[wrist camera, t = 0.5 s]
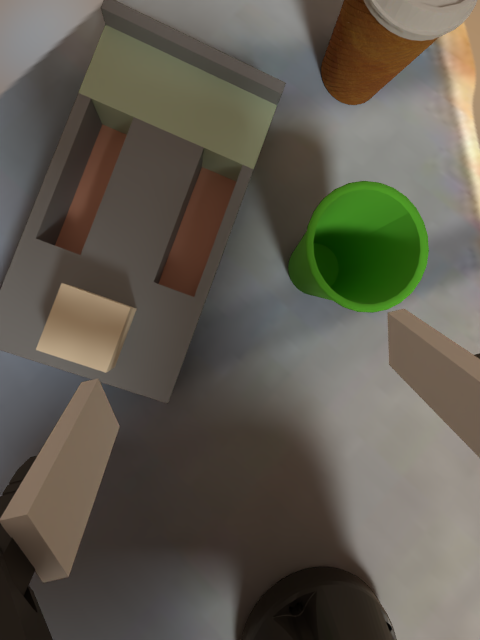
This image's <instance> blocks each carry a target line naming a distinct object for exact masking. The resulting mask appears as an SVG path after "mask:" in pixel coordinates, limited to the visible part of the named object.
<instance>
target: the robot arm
mask: <svg viewBox="0 0 480 640" xmlns="http://www.w3.org/2000/svg"><path fill="white" fill-rule="evenodd" d="M388 342H389V365H390V366H391V367H392V368H393V369H394V370H395V371H396V372H397V373H398V374H399V375H400V377H401V378H402V379H403V380H404V381H405V382H406V383H407V384H408V385H409V386H410V387H411V388H412V389H413V390H414V391H415V392H416V393H417V394H418V395H419V396H420V397H421V398H422V399H423V400H424V401H425V402H426V403H427V404H428V405H429V406H430V407H431V408H432V409H433V410H434V411H435V412H436V413H437V414H438V416H439V417H440V418H441V419H442V420H443V421H444V422H445V423H446V424H447V425H448V426H449V427H450V428H451V429H452V430H453V431H454V432H455V433H456V434H457V435H458V436H459V437H460V438H461V439H462V440H463V441H464V442H465V443H466V444H467V445H468V446H469V447H470V448H471V449H472V450H473V451H474V452H475V454H476V455H477V456H478V457H479V458H480V354H476V355H473V354H471V353H470V352H468V351H467V350H465V349H464V348H462V347H461V346H459V345H458V344H456V343H455V342H453V341H452V340H450V339H449V338H447V337H446V336H444V335H443V334H441V333H440V332H438V331H437V330H435V329H434V328H432V327H431V326H429V325H428V324H426V323H425V322H423V321H422V320H420V319H419V318H417V317H416V316H414V315H413V314H411V313H410V312H408V311H407V310H405V309H401V310H397V311H392V312H388ZM119 427H120V426H119V424H118V422H117V419H116V417H115V415H114V413H113V410H112V408H111V406H110V404H109V401H108V399H107V397H106V394H105V392H104V390H103V388H102V385H101V383H100V381H99V379H94V380H89V381H85V382H81V384H80V386H79V387H78V389H77V391H76V392H75V394H74V396H73V397H72V399H71V401H70V402H69V404H68V406H67V407H66V409H65V411H64V412H63V414H62V416H61V417H60V419H59V421H58V422H57V424H56V426H55V427H54V429H53V431H52V432H51V434H50V436H49V438H48V439H47V441H46V443H45V444H44V446H43V448H42V449H41V451H40V453H39V454H38V456H34V457H30V458H29V459H28V460H27V461H26V462H25V463H24V464H23V465H22V466H21V467H20V468H19V469H18V470H17V472H16V473H15V475H14V476H13V478H12V479H11V481H10V483H9V485H8V486H7V487H6V489H5V490H4V492H3V496H1V497H0V640H53V639H52V637H51V634H50V632H49V629H48V627H47V624H46V622H45V619H44V617H43V614H42V612H41V609H40V607H39V604H38V602H37V600H36V597H35V595H34V592H33V591H32V589H31V588H30V587H29V583H30V580H31V578H32V576H33V573H34V571H35V572H36V573H37V575H38V576H39V577H40V579H41V580H42V582H43V583H45V582H49V581H53V580H57V579H62V578H66V577H69V574H70V572H71V569H72V566H73V563H74V560H75V557H76V554H77V551H78V548H79V545H80V542H81V539H82V536H83V533H84V530H85V527H86V524H87V521H88V518H89V516H90V513H91V510H92V507H93V504H94V501H95V498H96V495H97V492H98V489H99V486H100V483H101V480H102V477H103V474H104V471H105V468H106V465H107V462H108V460H109V457H110V454H111V451H112V448H113V445H114V442H115V439H116V436H117V433H118V430H119ZM242 640H397V639H396V635H395V632H394V629H393V626H392V623H391V621H390V619H389V617H388V615H387V613H386V611H385V610H384V608H383V607H382V605H381V604H380V602H379V601H378V599H377V598H376V596H375V595H374V593H373V592H372V591H371V589H370V588H369V587H368V586H367V585H366V584H365V583H364V582H363V581H362V580H360V579H359V578H358V577H356V576H354V575H353V574H351V573H349V572H346V571H344V570H340V569H336V568H330V567H317V568H310V569H305V570H302V571H299V572H296V573H294V574H291V575H289V576H287V577H286V578H284V579H282V580H281V581H279V582H278V583H277V584H275V585H274V586H273V587H272V588H271V589H269V590H268V591H267V592H266V593H265V594H264V595H263V597H262V598H261V599H260V600H259V602H258V603H257V604H256V606H255V607H254V609H253V611H252V612H251V614H250V616H249V618H248V621H247V623H246V626H245V629H244V632H243V636H242Z"/></svg>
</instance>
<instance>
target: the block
mask: <svg viewBox="0 0 480 640" xmlns="http://www.w3.org/2000/svg"><path fill="white" fill-rule="evenodd" d="M135 312H136V308H133V307H131V306H128V305H125V304H122V303H119V302H117V301H114V300H111V299H108V298H105V297H103V296H100V295H97V294H94V293H91V292H89V291H86V290H83V289H80V288H77V287H74V286H71V285H67V284H64V283H61V286H60V288H59V291H58V294H57V296H56V299H55V301H54V304H53V306H52V309H51V312H50V314H49V317H48V319H47V322H46V324H45V327H44V330H43V332H42V335H41V337H40V340H39V343H38V345H37V348H36V350H38V351H41V352H44V353H47V354H50V355H53V356H56V357H59V358H62V359H65V360H68V361H71V362H75V363H78V364H81V365H84V366H87V367H90V368H93V369H96V370H99V371H102V372H105V373H107V372H108V371H110V370H111V369H113V368H114V367H115V365H116V363H117V360H118V357H119V355H120V352H121V349H122V347H123V344H124V341H125V339H126V336H127V333H128V331H129V328H130V325H131V323H132V320H133V317H134V315H135Z"/></svg>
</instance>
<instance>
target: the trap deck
mask: <svg viewBox="0 0 480 640" xmlns="http://www.w3.org/2000/svg"><path fill="white" fill-rule="evenodd" d="M101 10H102V14H103V17H104V21H105V27H104V30H103V32H102V35H101V37H100V40H99V42H98V45H97V47H96V50H95V52H94V55H93V57H92V60H91V62H90V65H89V67H88V70H87V72H86V75H85V77H84V80H83V83H82V85H81V88H80V90H79V93H78V95H77V98H76V100H75V103H74V105H73V108H72V110H71V113H70V115H69V118H68V120H67V123H66V125H65V128H64V130H63V133H62V135H61V138H60V141H59V143H58V146H57V148H56V151H55V153H54V156H53V158H52V161H51V163H50V166H49V168H48V171H47V173H46V176H45V178H44V181H43V183H42V186H41V188H40V191H39V194H38V196H37V199H36V201H35V204H34V206H33V209H32V211H31V214H30V216H29V219H28V221H27V224H26V226H25V229H24V231H23V234H22V236H21V239H20V241H19V244H18V246H17V249H16V252H15V254H14V257H13V259H12V262H11V264H10V267H9V269H8V272H7V274H6V277H5V279H4V282H3V284H2V287H1V289H0V350H2V351H5V352H8V353H11V354H14V355H17V356H20V357H23V358H27V359H30V360H33V361H36V362H39V363H42V364H45V365H48V366H52V367H55V368H58V369H61V370H64V371H67V372H70V373H73V374H77V375H80V376H83V377H86V378H89V379H92V380H94V379H99V381H100V382H102V383H105V384H108V385H111V386H114V387H117V388H120V389H124V390H127V391H130V392H133V393H136V394H139V395H142V396H145V397H149V398H152V399H155V400H158V401H161V402H164V403H167V404H168V402H169V399H170V397H171V394H172V391H173V389H174V386H175V383H176V380H177V378H178V375H179V372H180V369H181V367H182V364H183V361H184V358H185V356H186V353H187V350H188V348H189V345H190V342H191V339H192V337H193V334H194V331H195V328H196V326H197V323H198V320H199V317H200V315H201V312H202V309H203V307H204V304H205V301H206V298H207V296H208V293H209V290H210V287H211V285H212V282H213V279H214V276H215V274H216V271H217V268H218V265H219V263H220V260H221V257H222V255H223V252H224V249H225V246H226V244H227V241H228V238H229V235H230V233H231V230H232V227H233V224H234V222H235V219H236V216H237V214H238V211H239V208H240V205H241V203H242V200H243V197H244V194H245V192H246V189H247V186H248V183H249V181H250V178H251V175H252V173H253V170H254V167H255V164H256V162H257V159H258V156H259V153H260V151H261V148H262V145H263V142H264V140H265V137H266V134H267V132H268V129H269V126H270V123H271V121H272V118H273V115H274V112H275V110H276V107H277V104H278V102H279V100H280V97H281V95H282V92H283V89H284V87H285V84H286V83H285V82H283V81H281V80H279V79H276V78H274V77H272V76H270V75H268V74H266V73H264V72H262V71H260V70H258V69H256V68H254V67H252V66H250V65H247V64H245V63H243V62H241V61H239V60H237V59H235V58H233V57H231V56H229V55H227V54H225V53H223V52H221V51H218V50H216V49H214V48H212V47H210V46H208V45H206V44H204V43H202V42H200V41H198V40H196V39H194V38H192V37H190V36H187V35H185V34H183V33H181V32H179V31H177V30H175V29H173V28H171V27H169V26H167V25H165V24H163V23H161V22H158V21H156V20H154V19H152V18H150V17H148V16H146V15H144V14H142V13H140V12H138V11H136V10H134V9H132V8H130V7H127V6H125V5H123V4H121V3H119V2H117V1H115V0H104V1H103V4H102V6H101ZM61 283H64V284H67V285H71V286H74V287H77V288H80V289H83V290H86V291H89V292H91V293H94V294H97V295H100V296H103V297H105V298H108V299H111V300H114V301H117V302H119V303H122V304H125V305H128V306H131V307H133V308H136V312H135V315H134V317H133V320H132V323H131V325H130V328H129V331H128V333H127V336H126V339H125V341H124V344H123V347H122V349H121V352H120V355H119V357H118V360H117V363H116V365H115V367H114V368H113V369H111V370H110V371H108V372H107V373H105V372H102V371H99V370H96V369H93V368H90V367H87V366H84V365H81V364H78V363H75V362H71V361H68V360H65V359H62V358H59V357H56V356H53V355H50V354H47V353H44V352H41V351H38V350H36V348H37V345H38V343H39V340H40V337H41V335H42V332H43V330H44V327H45V324H46V322H47V319H48V317H49V314H50V312H51V309H52V306H53V304H54V301H55V299H56V296H57V294H58V291H59V288H60V286H61Z"/></svg>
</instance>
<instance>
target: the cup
mask: <svg viewBox="0 0 480 640" xmlns="http://www.w3.org/2000/svg"><path fill="white" fill-rule="evenodd" d="M428 252H429V248H428V235H427V232H426V228H425V225H424V222H423V220H422V218H421V216H420V214H419V212H418V210H417V209H416V207H415V206H414V205H413V204H412V203H411V202H410V201H409V199H408V198H407V197H406V196H404V195H403V194H402V193H400V192H399V191H397V190H396V189H394V188H392V187H390V186H387V185H384V184H382V183H377V182H368V181H360V182H354V183H348V184H346V185H344V186H341V187H339V188H337V189H335V190H334V191H332V192H331V193H330V194H329V195H327V196H326V197H325V198H324V199H323V200H322V201H321V202H320V204H319V205H318V206H317V208H316V209H315V210H314V212H313V215H312V217H311V219H310V222H309V224H308V227H307V231H306V233H305V235H304V236H303V238H302V239H301V241H300V242H299V244H298V245H297V247H296V248H295V250H294V252H293V253H292V255H291V257H290V260H289V265H288V270H289V276H290V279H291V281H292V282H293V284H294V285H295V286H296V287H297V288H298V289H299V290H300V291H302V292H303V293H306V294H309V295H313V296H317V297H321V298H325V299H329V300H333V301H334V302H336V303H338V304H339V305H341V306H343V307H345V308H348V309H351V310H354V311H357V312H378V311H382V310H387V309H389V308H391V307H393V306H395V305H397V304H399V303H401V302H402V301H403V300H404V299H405V298H406V297H408V296H409V295H410V294H411V293H412V292H413V290H414V289H415V287H416V286H417V285H418V283H419V282H420V280H421V278H422V276H423V273H424V271H425V268H426V265H427V259H428Z"/></svg>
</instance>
